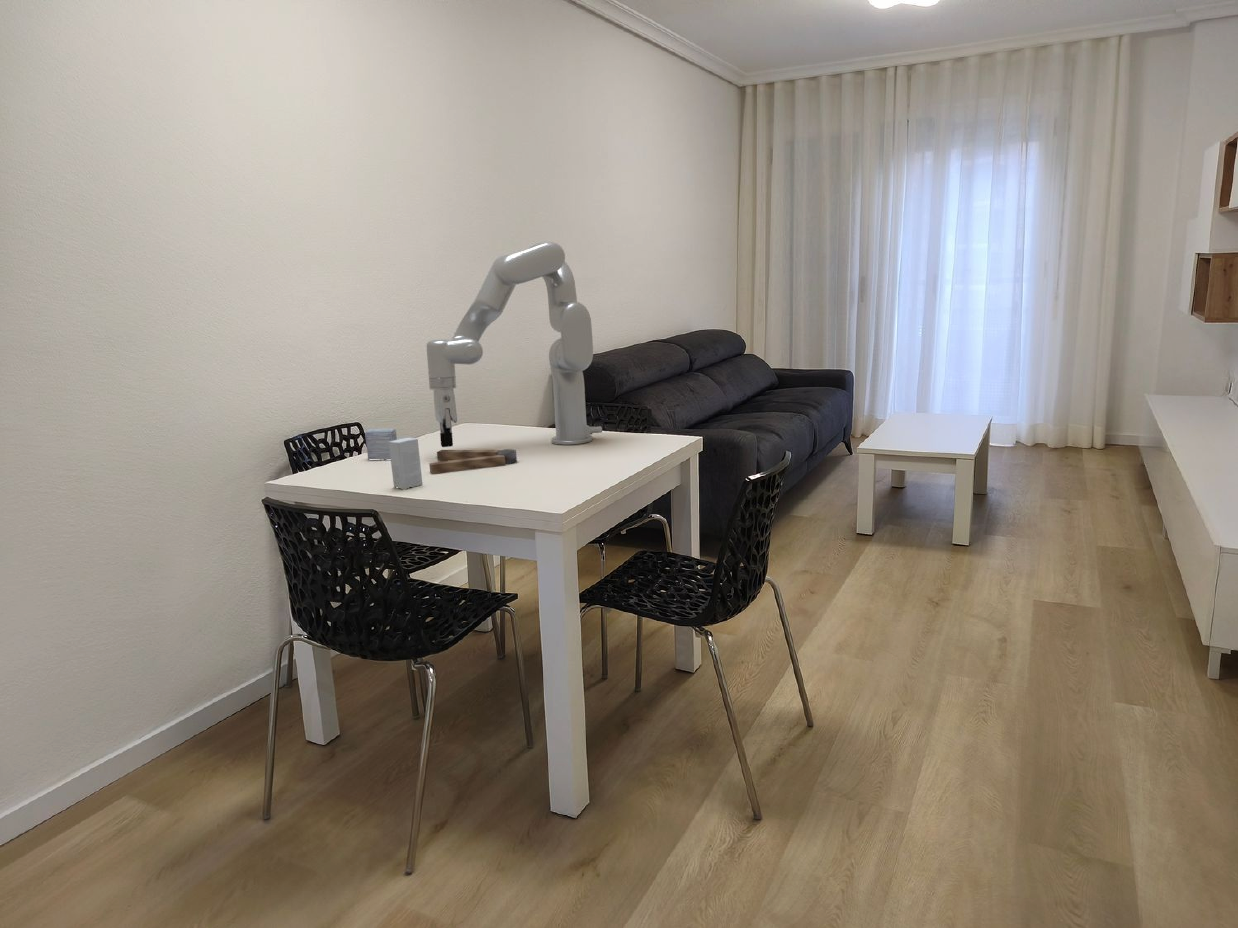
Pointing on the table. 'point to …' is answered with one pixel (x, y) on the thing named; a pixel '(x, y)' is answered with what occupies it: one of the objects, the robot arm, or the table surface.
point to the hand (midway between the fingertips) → (447, 446)
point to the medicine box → (379, 443)
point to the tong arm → (463, 454)
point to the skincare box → (405, 463)
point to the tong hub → (475, 462)
